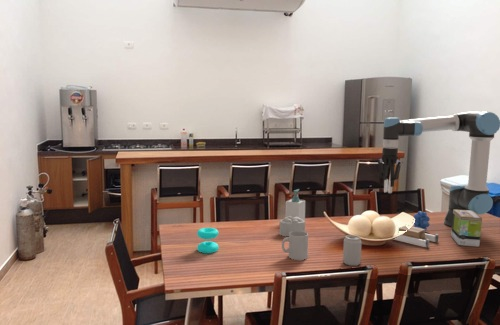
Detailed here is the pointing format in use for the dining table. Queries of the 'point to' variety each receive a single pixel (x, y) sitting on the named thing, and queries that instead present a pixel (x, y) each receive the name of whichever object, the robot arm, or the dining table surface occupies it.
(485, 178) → the robot arm
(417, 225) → the grapes
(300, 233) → the mug
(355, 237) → the can
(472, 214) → the tea box
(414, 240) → the white parallel rail frame
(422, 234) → the block
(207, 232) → the donuts
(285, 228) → the lumpy-topped squat cylinder
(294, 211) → the soap bottle
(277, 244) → the dining table surface
